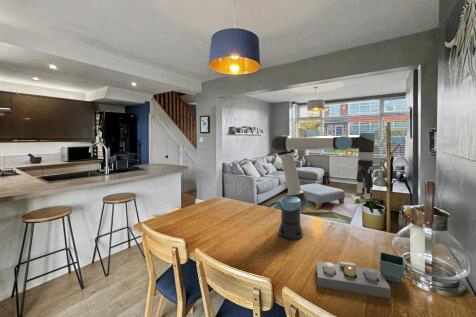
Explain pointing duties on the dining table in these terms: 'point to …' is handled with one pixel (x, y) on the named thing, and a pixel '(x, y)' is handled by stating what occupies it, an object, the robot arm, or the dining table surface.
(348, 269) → the brass button
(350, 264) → the block
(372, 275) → the white rounded dome
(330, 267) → the white rounded piece
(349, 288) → the console
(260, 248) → the dining table surface
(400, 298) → the dining table surface
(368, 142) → the robot arm
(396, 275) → the flower pot
